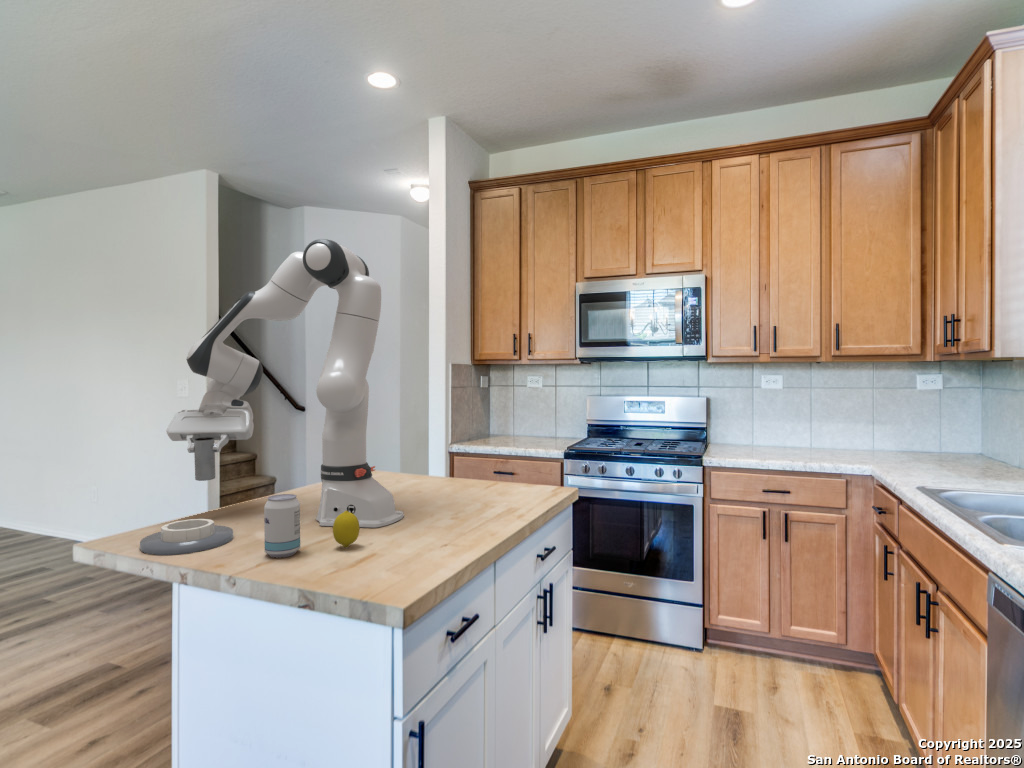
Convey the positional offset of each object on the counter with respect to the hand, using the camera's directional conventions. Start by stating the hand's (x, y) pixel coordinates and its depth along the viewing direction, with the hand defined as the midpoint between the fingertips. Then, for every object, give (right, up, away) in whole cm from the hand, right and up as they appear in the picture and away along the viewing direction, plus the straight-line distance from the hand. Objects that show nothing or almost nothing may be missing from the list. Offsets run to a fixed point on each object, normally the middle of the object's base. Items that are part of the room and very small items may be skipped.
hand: (203, 451), depth 142 cm
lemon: (+42, -19, -20) cm, 50 cm away
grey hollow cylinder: (0, -7, +1) cm, 7 cm away
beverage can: (+30, -19, -25) cm, 43 cm away
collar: (+6, -18, -16) cm, 25 cm away
